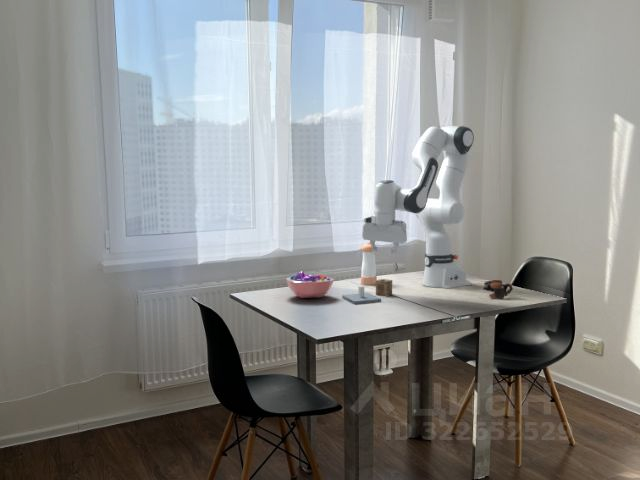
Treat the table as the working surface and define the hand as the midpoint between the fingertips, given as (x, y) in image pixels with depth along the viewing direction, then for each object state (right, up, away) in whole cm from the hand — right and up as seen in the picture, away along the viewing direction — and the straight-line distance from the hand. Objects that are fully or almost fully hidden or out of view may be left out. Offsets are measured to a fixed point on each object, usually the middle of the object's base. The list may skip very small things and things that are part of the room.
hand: (384, 252), depth 270 cm
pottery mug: (+47, -19, -3) cm, 51 cm away
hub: (-10, -19, -7) cm, 23 cm away
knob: (0, -18, +3) cm, 18 cm away
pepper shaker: (-5, -15, +25) cm, 30 cm away
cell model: (-31, -19, -2) cm, 37 cm away
